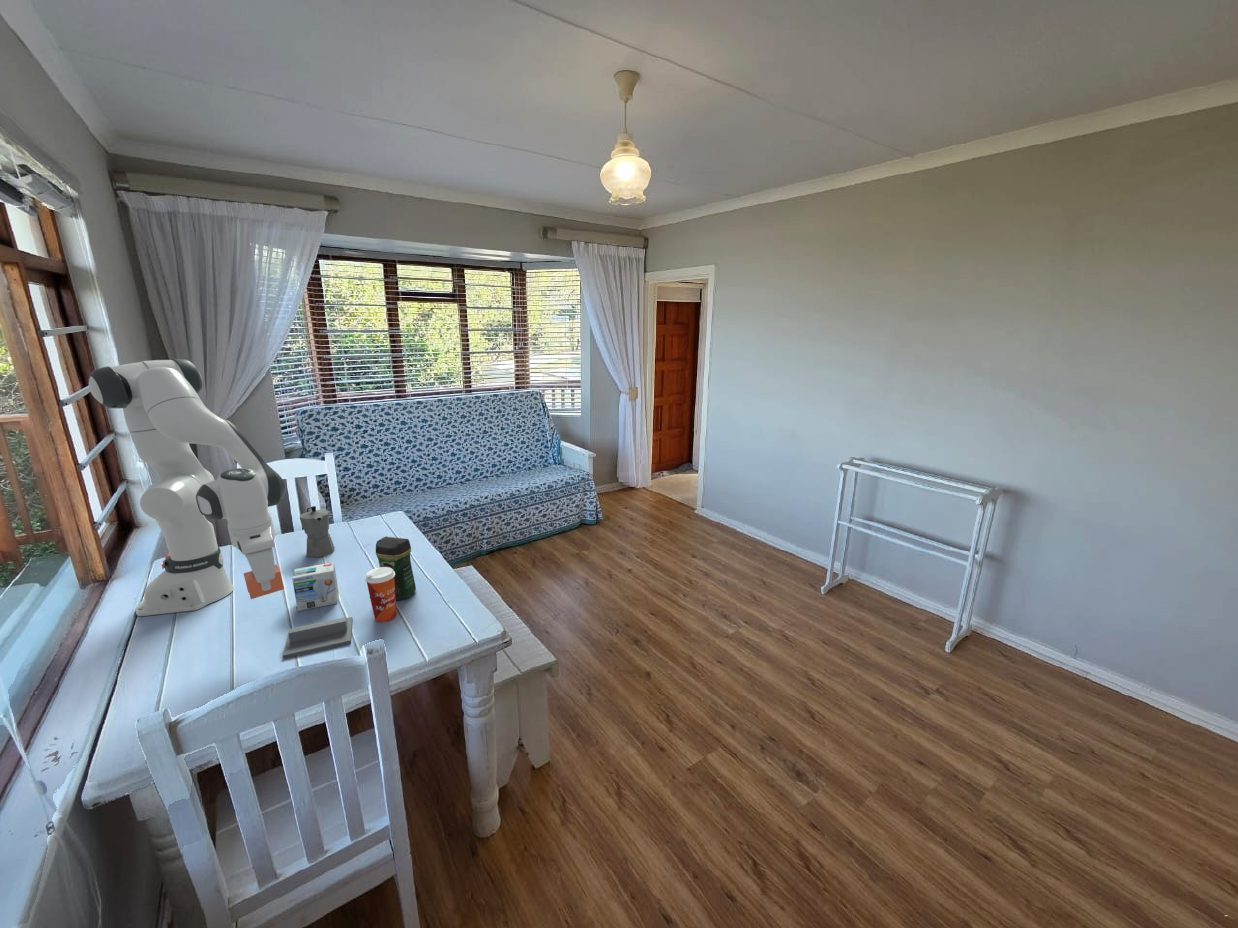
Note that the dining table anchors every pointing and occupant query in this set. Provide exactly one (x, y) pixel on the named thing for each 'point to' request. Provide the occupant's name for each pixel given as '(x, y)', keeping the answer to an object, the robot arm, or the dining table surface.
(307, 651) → the stand
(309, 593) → the light bulb box
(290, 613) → the dining table surface
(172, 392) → the robot arm
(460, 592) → the dining table surface
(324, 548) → the coffeepot
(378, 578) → the paper cup
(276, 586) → the block
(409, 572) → the coffee jar
